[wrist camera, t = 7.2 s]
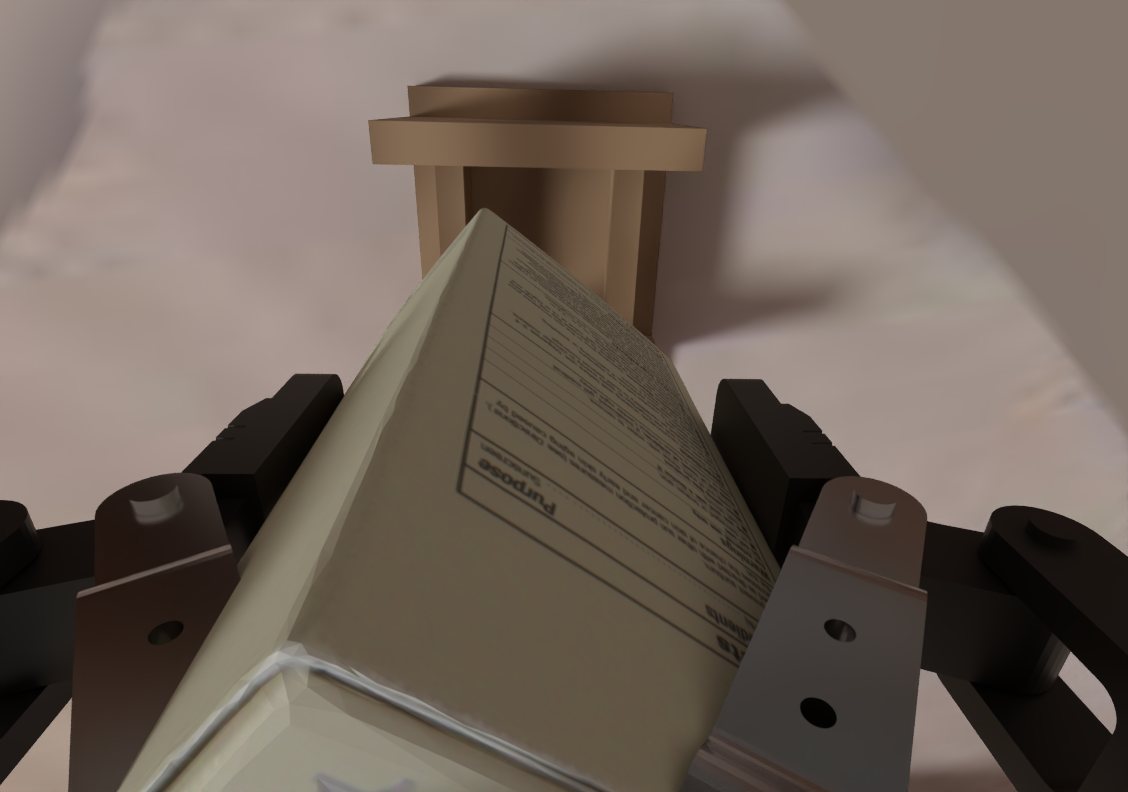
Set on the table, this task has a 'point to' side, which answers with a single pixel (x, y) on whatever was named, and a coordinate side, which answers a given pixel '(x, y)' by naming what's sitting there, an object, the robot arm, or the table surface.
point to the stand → (548, 176)
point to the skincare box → (482, 564)
